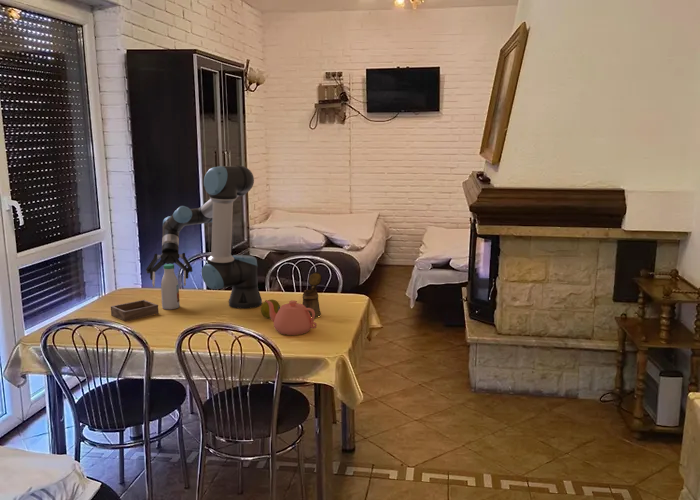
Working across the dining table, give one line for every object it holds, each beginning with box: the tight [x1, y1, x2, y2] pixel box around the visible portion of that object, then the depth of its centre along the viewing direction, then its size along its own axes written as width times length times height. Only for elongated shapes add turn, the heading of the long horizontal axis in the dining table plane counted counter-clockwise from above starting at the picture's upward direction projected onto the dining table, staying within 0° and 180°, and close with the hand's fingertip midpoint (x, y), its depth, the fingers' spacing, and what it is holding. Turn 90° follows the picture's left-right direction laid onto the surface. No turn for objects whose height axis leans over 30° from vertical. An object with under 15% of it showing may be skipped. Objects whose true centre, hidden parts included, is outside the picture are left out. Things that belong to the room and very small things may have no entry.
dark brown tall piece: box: [301, 271, 323, 317], centre depth 278 cm, size 9×14×18 cm, turn 164°
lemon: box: [260, 299, 281, 320], centre depth 274 cm, size 11×8×8 cm
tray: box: [110, 299, 160, 322], centre depth 278 cm, size 13×16×4 cm
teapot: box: [264, 299, 318, 336], centre depth 255 cm, size 22×16×12 cm
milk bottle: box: [160, 263, 181, 310], centre depth 288 cm, size 8×8×20 cm
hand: (169, 284), depth 286 cm, fingers open, 13 cm apart
